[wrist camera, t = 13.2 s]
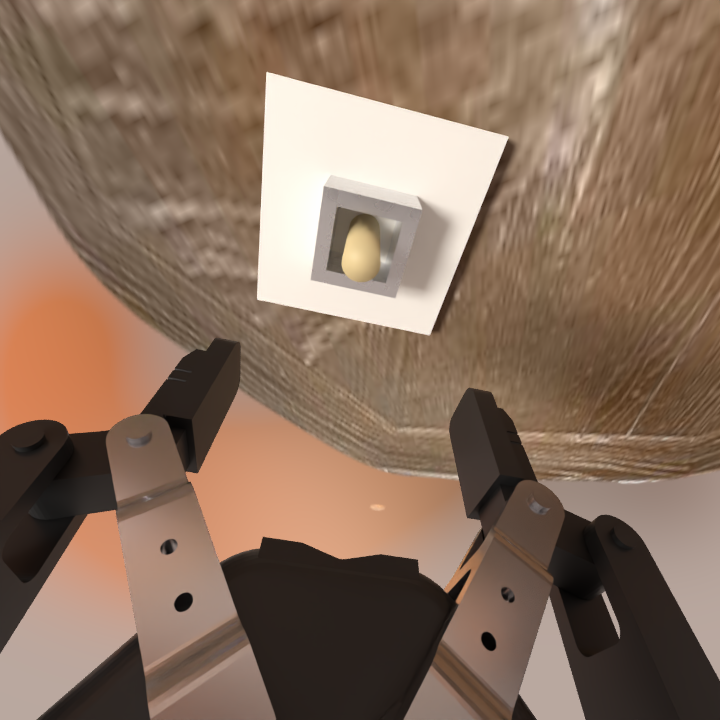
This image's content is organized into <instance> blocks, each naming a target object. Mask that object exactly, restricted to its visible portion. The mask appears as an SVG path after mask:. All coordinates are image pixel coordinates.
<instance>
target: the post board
mask: <svg viewBox="0 0 720 720" xmlns="http://www.w3.org/2000/svg"><path fill="white" fill-rule="evenodd" d="M507 140H508V136H504V135H501V134H497V133H493V132H490V131H486V130H482V129H478V128H475V127H471V126H467V125H463V124H460V123H456V122H452V121H448V120H445V119H441V118H437V117H433V116H430V115H426V114H422V113H419V112H415V111H411V110H407V109H404V108H400V107H396V106H392V105H389V104H385V103H381V102H377V101H374V100H370V99H366V98H363V97H359V96H355V95H351V94H348V93H344V92H340V91H336V90H333V89H329V88H325V87H321V86H318V85H314V84H310V83H306V82H303V81H299V80H295V79H292V78H288V77H284V76H280V75H277V74H273V73H269V72H267V76H266V100H265V124H264V148H263V171H262V195H261V219H260V243H259V266H258V290H257V300H262V301H267V302H272V303H277V304H282V305H286V306H291V307H296V308H301V309H306V310H310V311H315V312H320V313H325V314H330V315H334V316H339V317H344V318H349V319H354V320H359V321H363V322H368V323H373V324H378V325H383V326H387V327H392V328H397V329H402V330H407V331H412V332H416V333H421V334H426V335H430V334H431V331H432V329H433V326H434V324H435V321H436V319H437V316H438V314H439V311H440V308H441V306H442V303H443V301H444V298H445V296H446V293H447V291H448V288H449V286H450V283H451V281H452V278H453V276H454V273H455V271H456V268H457V266H458V263H459V261H460V258H461V256H462V253H463V251H464V248H465V246H466V243H467V241H468V238H469V236H470V233H471V230H472V228H473V225H474V223H475V220H476V218H477V215H478V213H479V210H480V208H481V205H482V203H483V200H484V198H485V195H486V193H487V190H488V188H489V185H490V183H491V180H492V178H493V175H494V173H495V170H496V168H497V165H498V163H499V160H500V158H501V155H502V153H503V150H504V147H505V145H506V142H507ZM330 175H334V176H338V177H342V178H346V179H350V180H354V181H358V182H362V183H366V184H370V185H374V186H378V187H382V188H386V189H391V190H395V191H399V192H403V193H407V194H411V195H415V196H417V197H418V200H419V202H420V205H421V207H422V214H421V217H420V220H419V223H418V227H417V230H416V233H415V236H414V240H413V243H412V246H411V249H410V253H409V256H408V259H407V263H406V266H405V269H404V272H403V276H402V279H401V282H400V285H399V289H398V292H397V295H396V298H391V297H387V296H382V295H377V294H373V293H368V292H364V291H359V290H354V289H350V288H345V287H341V286H336V285H331V284H327V283H322V282H318V281H313V280H311V273H312V266H313V259H314V252H315V245H316V238H317V230H318V223H319V216H320V209H321V202H322V195H323V188H324V185H325V183H326V182H327V180H328V178H329V177H330ZM395 224H396V220H392V219H388V218H383V217H379V216H375V215H371V214H367V213H362V212H358V211H354V210H350V209H346V208H342V207H339V213H338V219H337V225H336V231H335V237H334V242H333V248H332V251H335V252H340V253H343V257H342V269H343V271H344V273H345V275H346V276H347V277H348V278H350V279H351V280H353V281H356V282H367V281H370V280H371V279H373V278H374V277H375V276H376V275H377V274H378V272H379V270H380V264H381V262H384V263H385V261H386V257H387V254H388V250H389V246H390V242H391V239H392V235H393V231H394V228H395Z"/></svg>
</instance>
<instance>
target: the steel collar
mask: <svg viewBox="0 0 720 720" xmlns="http://www.w3.org/2000/svg"><path fill="white" fill-rule="evenodd" d="M339 207H342V208H346V209H350V210H354V211H358V212H362V213H367V214H371V215H375V216H379V217H383V218H388V219H392V220H396V224H395V228H394V231H393V235H392V239H391V242H390V246H389V250H388V254H387V257H386V261H385V263H384V262H381V264H380V270H379V272H378V274H377V275H376V276H375V277H374V278H373V279H371V280H370V281H367V282H356V281H353V280H351V279H350V278H348V277H347V276H346V275H345V273H344V271H343V269H342V257H343V253H340V252H335V251H332V248H333V242H334V237H335V231H336V225H337V219H338V213H339ZM421 214H422V207H421V205H420V202H419V200H418V197H417V196H415V195H411V194H407V193H403V192H399V191H395V190H391V189H386V188H382V187H378V186H374V185H370V184H366V183H362V182H358V181H354V180H350V179H346V178H342V177H338V176H334V175H330V177H329V178H328V180H327V182H326V183H325V185H324V188H323V195H322V202H321V209H320V216H319V223H318V230H317V238H316V245H315V252H314V259H313V266H312V273H311V280H313V281H318V282H322V283H327V284H331V285H336V286H341V287H345V288H350V289H354V290H359V291H364V292H368V293H373V294H377V295H382V296H387V297H391V298H396V295H397V292H398V289H399V285H400V282H401V279H402V276H403V272H404V269H405V266H406V263H407V259H408V256H409V253H410V249H411V246H412V243H413V240H414V236H415V233H416V230H417V227H418V223H419V220H420V217H421Z"/></svg>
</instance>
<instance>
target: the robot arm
mask: <svg viewBox="0 0 720 720" xmlns="http://www.w3.org/2000/svg"><path fill="white" fill-rule="evenodd" d="M239 382H240V343H239V342H237V341H232V340H226V339H221V338H215V339H214V340H213V342H212V343H211V345H210V346H209V348H208V349H207V351H203V350H198V349H196V350H195V351H193V352H191V353H190V354H188V355H186V356H185V357H183V358H182V360H181V361H180V362H179V363H178V365H177V366H176V367H175V370H174V371H172V373H171V374H170V375H169V377H168V380H167V379H166V381H165V382H164V383H163V385H162V386H161V387H160V389H159V390H158V391H157V393H156V394H155V395H154V397H153V398H152V399H151V400H150V402H149V403H148V405H147V406H146V407H145V408H144V410H143V411H142V412H141V414H139V415H135V416H131V417H128V418H126V419H123V420H122V421H120V422H118V423H117V424H115V425H114V426H113V427H112V428H111V429H110V430H108V431H100V432H88V433H75V434H69V433H68V431H67V429H66V427H65V426H64V425H63V424H61V423H59V422H57V421H53V420H35V421H31V422H26V423H23V424H20V425H17V426H15V427H13V428H11V429H9V430H7V431H6V432H4V433H3V434H1V435H0V653H1V651H2V650H3V648H4V646H5V645H6V644H7V642H8V640H9V639H10V637H11V636H12V634H13V632H14V631H15V629H16V628H17V626H18V624H19V623H20V621H21V620H22V618H23V617H24V615H25V613H26V612H27V610H28V609H29V607H30V605H31V604H32V602H33V601H34V599H35V597H36V596H37V594H38V593H39V591H40V589H41V588H42V586H43V585H44V583H45V581H46V580H47V578H48V577H49V575H50V573H51V572H52V570H53V569H54V567H55V565H56V564H57V562H58V561H59V559H60V558H61V556H62V554H63V553H64V551H65V549H66V548H67V546H68V545H69V543H70V541H71V540H72V538H73V537H74V535H75V533H76V532H77V530H78V529H79V527H80V525H81V524H82V522H83V521H84V519H85V518H86V516H87V514H90V513H97V512H104V511H111V510H116V515H117V522H118V528H119V533H120V539H121V544H122V550H123V556H124V561H125V567H126V572H127V578H128V584H129V589H130V595H131V601H132V606H133V612H134V617H135V623H136V628H137V633H136V634H135V635H134V636H133V637H132V638H130V639H129V640H128V641H127V642H126V643H124V644H123V645H122V646H121V647H120V648H119V649H118V650H117V651H115V652H114V653H113V654H112V655H111V656H110V657H109V658H107V659H106V660H105V661H104V662H103V663H101V664H100V665H99V666H98V667H97V668H96V669H94V670H93V671H92V672H91V673H90V674H89V675H88V676H86V677H85V678H84V679H83V680H82V681H81V682H80V683H78V684H77V685H76V686H75V687H74V688H72V689H71V690H70V691H69V692H68V693H67V694H66V695H64V696H63V697H62V698H61V699H60V700H59V701H57V702H56V703H55V704H54V705H53V706H52V707H51V708H49V709H48V710H47V711H46V712H45V713H44V714H43V715H41V716H40V717H39V718H38V719H37V720H537V719H536V718H535V716H534V715H533V714H532V712H531V711H530V709H529V708H528V707H527V705H526V704H525V702H524V701H523V699H522V698H521V696H520V695H519V690H520V687H521V684H522V681H523V677H524V674H525V671H526V668H527V665H528V661H529V658H530V655H531V652H532V649H533V645H534V642H535V639H536V636H537V633H538V629H539V626H540V623H541V619H542V616H543V613H544V610H545V607H546V604H547V600H548V597H549V596H550V600H551V603H552V606H553V609H554V613H555V617H556V620H557V623H558V627H559V630H560V634H561V637H562V640H563V644H564V647H565V651H566V654H567V658H568V661H569V664H570V668H571V671H572V675H573V678H574V681H575V685H576V688H577V692H578V695H579V699H580V702H581V705H582V709H583V712H584V716H585V719H586V720H720V681H719V679H718V677H717V675H716V673H715V671H714V670H713V668H712V666H711V664H710V662H709V660H708V658H707V657H706V655H705V653H704V651H703V649H702V647H701V646H700V644H699V642H698V640H697V638H696V636H695V635H694V633H693V631H692V629H691V627H690V625H689V624H688V622H687V620H686V618H685V616H684V614H683V613H682V611H681V609H680V607H679V605H678V604H677V602H676V600H675V598H674V596H673V594H672V593H671V591H670V589H669V587H668V585H667V583H666V581H665V580H664V578H663V576H662V574H661V572H660V571H659V569H658V567H657V565H656V563H655V561H654V559H653V558H652V556H651V554H650V552H649V550H648V548H647V547H646V545H645V543H644V542H643V540H642V539H641V537H640V536H639V535H638V534H637V533H636V531H634V530H633V529H632V528H631V527H630V526H629V525H627V524H626V523H625V522H623V521H621V520H620V519H618V518H616V517H613V516H610V515H600V516H598V517H597V518H596V519H595V520H594V521H592V522H590V521H588V520H586V519H583V518H581V517H579V516H577V515H575V514H573V513H571V512H568V511H566V510H564V508H563V505H562V503H561V502H560V500H559V499H558V497H557V496H556V495H555V494H554V493H553V492H552V491H551V490H550V489H548V488H547V487H546V486H544V485H542V484H540V483H538V481H537V479H536V477H535V474H534V472H533V469H532V467H531V464H530V462H529V459H528V457H527V455H526V452H525V450H524V447H523V446H522V445H521V443H522V442H521V440H520V438H519V435H517V430H516V428H515V425H514V423H513V421H512V419H511V418H510V417H509V416H508V415H507V413H506V412H505V411H504V410H503V409H501V408H497V405H496V402H495V400H494V397H493V395H492V393H491V392H488V391H483V390H478V389H473V388H468V389H467V390H466V392H465V393H464V395H463V397H462V399H461V401H460V403H459V405H458V407H457V408H456V410H455V412H454V414H453V416H452V418H451V421H450V428H449V433H450V438H451V443H452V448H453V453H454V457H455V462H456V467H457V472H458V477H459V481H460V486H461V491H462V496H463V501H464V505H465V510H466V515H467V518H471V519H477V520H480V521H481V525H482V528H481V529H480V530H479V532H478V533H477V535H476V537H475V538H474V540H473V542H472V544H471V546H470V547H469V549H468V551H467V553H466V554H465V556H464V558H463V560H462V561H461V563H460V565H459V567H458V568H457V570H456V572H455V574H454V575H453V577H452V578H451V580H450V581H449V583H448V584H447V586H446V587H445V588H444V590H443V589H442V588H441V587H440V586H439V585H438V584H436V583H435V582H434V581H432V580H431V579H429V578H428V577H426V576H424V575H422V574H421V573H419V568H418V560H416V559H409V558H402V557H394V556H388V555H382V554H380V555H373V556H366V557H359V558H351V559H343V560H342V559H338V558H335V557H333V556H331V555H329V554H326V553H324V552H322V551H320V550H317V549H315V548H313V547H311V546H308V545H306V544H304V543H300V542H293V541H287V540H280V539H273V538H266V537H263V539H262V543H261V547H260V549H253V550H249V551H245V552H242V553H239V554H236V555H234V556H231V557H229V558H227V559H226V560H224V561H222V562H220V563H219V560H218V557H217V554H216V551H215V548H214V546H213V542H212V540H211V537H210V534H209V531H208V528H207V526H206V523H205V520H204V517H203V514H202V511H201V508H200V505H199V503H198V499H197V497H196V494H195V491H194V488H193V486H192V484H191V482H188V479H187V477H186V474H185V472H186V471H187V472H193V473H198V472H199V470H200V468H201V466H202V464H203V462H204V460H205V457H206V455H207V453H208V451H209V449H210V447H211V445H212V443H213V441H214V439H215V437H216V434H217V433H218V431H219V429H220V426H221V424H222V422H223V420H224V418H225V416H226V414H227V412H228V410H229V408H230V406H231V404H232V402H233V400H234V397H235V395H236V393H237V390H238V387H239ZM604 591H606V594H607V596H608V598H609V601H610V603H611V606H612V608H613V611H614V613H615V616H616V618H617V620H618V623H619V627H620V639H619V637H618V634H617V632H616V629H615V627H614V624H613V622H612V619H611V617H610V614H609V612H608V609H607V607H606V605H605V602H604V600H603V597H602V594H601V593H603V592H604Z"/></svg>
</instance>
